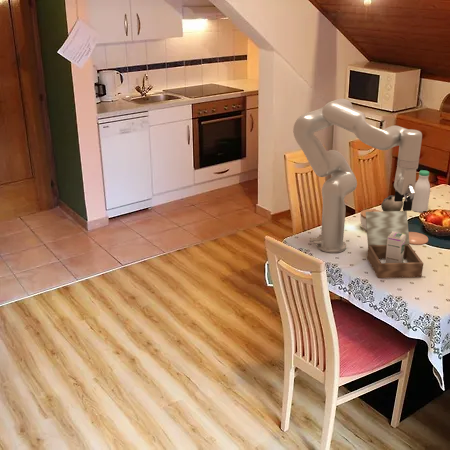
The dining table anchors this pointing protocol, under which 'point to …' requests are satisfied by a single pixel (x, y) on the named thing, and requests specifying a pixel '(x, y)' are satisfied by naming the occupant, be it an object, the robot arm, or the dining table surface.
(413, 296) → the dining table surface
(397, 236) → the syrup box
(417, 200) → the milk bottle
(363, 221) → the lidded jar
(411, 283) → the dining table surface
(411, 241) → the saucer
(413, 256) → the cold frame
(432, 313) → the dining table surface
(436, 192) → the dining table surface
